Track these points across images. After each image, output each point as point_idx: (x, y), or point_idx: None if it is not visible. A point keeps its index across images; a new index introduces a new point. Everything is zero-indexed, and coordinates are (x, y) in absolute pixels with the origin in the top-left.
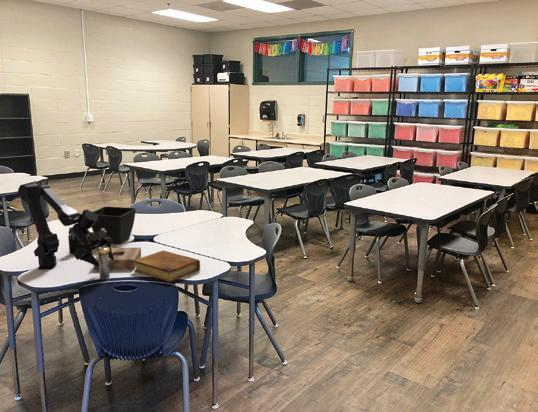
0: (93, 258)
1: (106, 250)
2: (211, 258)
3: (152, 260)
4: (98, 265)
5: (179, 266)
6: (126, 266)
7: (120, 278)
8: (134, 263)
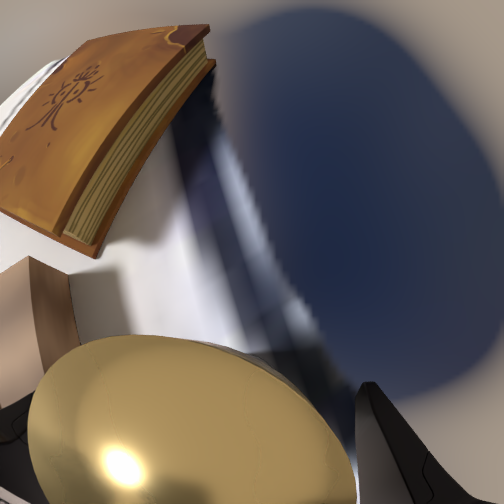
0: (425, 462)
1: (237, 355)
2: (20, 105)
3: (65, 132)
4: (374, 387)
5: (152, 30)
6: (64, 319)
7: (229, 268)
8: (46, 265)
